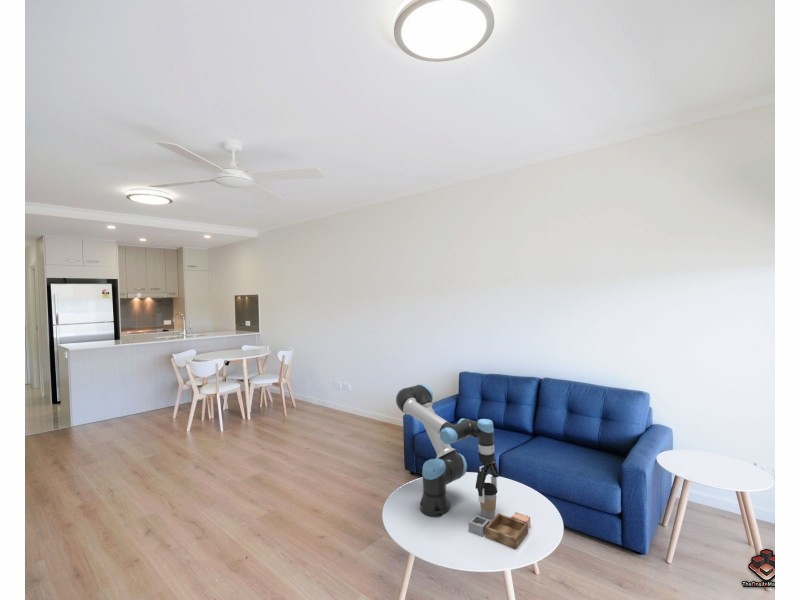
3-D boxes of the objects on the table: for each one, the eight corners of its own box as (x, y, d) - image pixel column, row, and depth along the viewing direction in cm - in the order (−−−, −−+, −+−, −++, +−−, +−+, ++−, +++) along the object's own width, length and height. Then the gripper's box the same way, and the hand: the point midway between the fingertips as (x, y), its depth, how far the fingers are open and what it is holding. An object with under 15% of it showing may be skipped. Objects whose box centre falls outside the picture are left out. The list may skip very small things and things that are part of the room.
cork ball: (474, 530, 176) (474, 523, 176) (477, 527, 178) (477, 520, 178) (480, 532, 174) (480, 526, 174) (483, 529, 176) (483, 523, 176)
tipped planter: (511, 527, 178) (511, 517, 178) (515, 522, 182) (515, 512, 182) (526, 533, 174) (526, 522, 174) (530, 527, 177) (530, 517, 177)
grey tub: (468, 532, 175) (468, 521, 175) (476, 525, 181) (475, 514, 181) (482, 538, 171) (482, 527, 171) (489, 530, 176) (489, 519, 176)
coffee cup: (498, 523, 182) (497, 492, 181) (478, 521, 183) (477, 490, 183) (497, 512, 191) (496, 482, 191) (478, 510, 193) (477, 481, 193)
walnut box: (485, 538, 171) (485, 527, 171) (499, 523, 181) (498, 513, 181) (515, 551, 162) (515, 539, 162) (528, 534, 173) (527, 523, 173)
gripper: (481, 463, 175) (483, 509, 175) (504, 445, 194) (506, 487, 194) (466, 459, 179) (468, 504, 179) (490, 442, 199) (492, 483, 199)
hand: (488, 496), depth 187 cm, fingers open, 13 cm apart
